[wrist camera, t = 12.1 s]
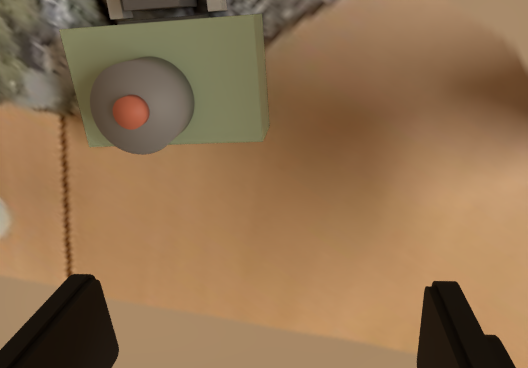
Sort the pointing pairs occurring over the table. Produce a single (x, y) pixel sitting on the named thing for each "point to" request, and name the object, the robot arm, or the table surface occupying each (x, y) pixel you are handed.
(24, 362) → the robot arm
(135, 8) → the dark grey block
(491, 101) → the table surface
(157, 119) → the green base with button
